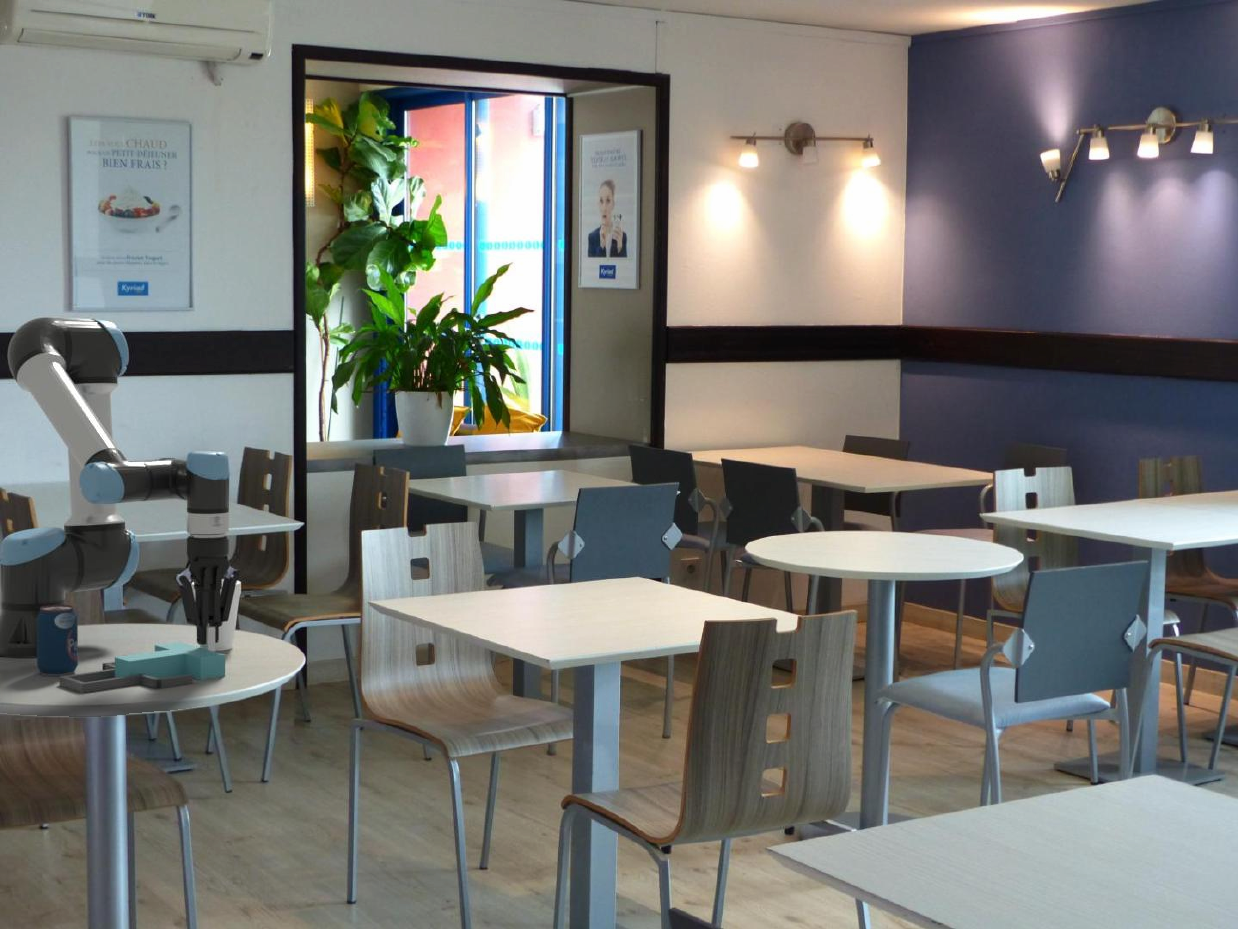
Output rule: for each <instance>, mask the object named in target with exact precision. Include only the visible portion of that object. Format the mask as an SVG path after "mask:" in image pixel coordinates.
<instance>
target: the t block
mask: <svg viewBox="0 0 1238 929" xmlns="http://www.w3.org/2000/svg"><path fill="white" fill-rule="evenodd" d="M114 662H115V678H118V677H125V676H131V675H138V674H145V675H149V676H152V677H155V678H158V679H160V678H167V677H174V676H180V675H187V674H192V675H193V679H197V680H199V681H203V680H209V679H216V678H222V677H223V678H224V677H226V654H224V653H220V652H218V651H215V652H214V651H210V650H206V649H203V648H200V646H194V645H192V644H189V643H184V642H180V641H176V642H168V643H160V644H155V645H154V651H151V652H143V653H142V652H141V653H136V654H134V653H133V654H128V655H121V656H114Z"/></svg>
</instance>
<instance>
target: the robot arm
mask: <svg viewBox="0 0 1238 929" xmlns="http://www.w3.org/2000/svg"><path fill="white" fill-rule="evenodd" d="M129 354H130V353H129V346H128V343H127V339H126V338H125V335H124V334H123V332H122V330H120V329H119V327H118V326H117V325H116V324H115V323H113V322H112V321H110V320H104V319H97V318H89V317H88V318H67V317H66V318H64V317H62V318H61V317H58V318H57V317H48V316H47V317H45V316H44V317H37V318H34V319H31V320H29V321H27V322H25V323H24V324H23V325H21V326H20V327H19V328H18V329H16V331H15V332H14V333H13V335H12V337H11V339H10V341H9V344H8V348H7V363H8V364H7V365H8V367H9V371H10V372H11V375H12V377H13V379H14V380H15V381H16V383H17V384H18V386H19V387H20V389H22V390H23V391H25V392H28V393H30V394H31V396H32V397H33V398H34V400H35V402H36V403H37V404H38V405H39V407H40V409H41V411H42V412H43V413H44V415H45V416H46V418H47V419H48V421H49V422H50V423H51V425H52V426H53V428H54V430H55V431H56V432H57V434H58V435H59V437H60V438H61V440H62V442H63V443H64V445H65V447H66V448H67V455H68V456H67V457H68V474H69V476H68V477H69V495H70V513H71V515H70V517H69V518H68V519H67V520H65V522H64V523H63V528H61V527H54V526H52V527H51V526H50V527H48V526H47V527H46V526H45V527H41V528H38V527H36V528H29V529H24V530H20V531H19V530H18V531H16V532H13V533H11V534H8V535H6V536H5V537H4V538H3V540H2V542H1V543H0V544H1V546H0V608H1V609H0V657H9V658H37V617H38V615H39V613H40V611H41V610H40V608H41V607H44V606H49V605H66V594H68V593H78V592H85V591H93V590H94V591H96V590H109V589H111V588H115V587H116V588H117V587H120V586H123V585H125V584H126V583H128V582H129V581H130V580H131V579H132V576H134V575H135V573H136V570H137V568H138V564H139V559H140V547H139V541H138V540H137V539H136V535H135V534H134V532H133V531H131V530H130V529H127V528H126V520H125V519H124V518H123V517H122V516H121V515H119V514H118V512H117V504H123V503H124V504H125V503H134V502H151V501H163V500H165V501H166V500H178V501H179V500H181V501H186V505H187V506H186V533H187V534H189V535H188V536H187V537H186V556H187V562H186V565H185V569H184V570H183V571H182V572H181V573H180V574H175V575H174V576H173V579H174V581H175V583H176V585H177V586H178V588H179V592H180V598H181V602H182V606H183V610H184V614H185V619H186V620H185V621H186V623H187V624H189V625H192V626H195V627H196V643H197V644H198V645H199V644H200V645H199V648H203V649H206V650H210V651H214V652H216V651H215V643H218V640H219V627H220V626H222V622H224V621H225V622H226V621H228V619H229V614H230V609H231V605H232V600H233V595H234V590H235V585H236V582H237V581H239V578H240V576H241V574H242V571H241V570H240V569H235V568H233V567H232V566H231V564H230V561H229V558H228V557H229V553H230V537H229V535H227V534H228V533H229V528H230V524H229V522H230V517H229V516H230V514H229V512H230V511H229V510H230V508H229V507H230V477H231V472H230V466H229V465H230V464H229V456H228V454H227V453H226V452H224V451H220V450H219V451H214V450H213V451H212V450H197V451H195V450H194V451H190V452H188V454H187V457H186V458H187V459H185V460H184V459H179V458H177V459H176V458H175V457H160V458H155V459H152V460H150V459H149V460H148V459H147V460H127V458H126V457H125V455H124V454H123V453H122V452H121V450H120V449H119V447H118V446H117V444H116V443H115V441H114V440H113V437H114V436H113V422H112V419H113V418H112V402H111V401H112V400H111V394H112V392H113V391H114V390H115V389H116V388H117V387H118V386H119V385H118V384H119V383H118V382H119V381H118V378H119V377H121V376H123V375H124V374H125V372H126V370H127V366H128V364H129V360H130V357H129V356H130V355H129ZM222 579H224V581H223V585H222ZM192 581H193V582H194V589H195V598H194V594H193V589H192V586H191V584H192V583H191V582H192ZM221 588H222V590H221ZM220 590H221V595H220ZM208 624H209V625H208Z"/></svg>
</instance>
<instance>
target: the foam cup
mask: <svg viewBox="0 0 1238 929" xmlns="http://www.w3.org/2000/svg"><path fill="white" fill-rule="evenodd" d="M223 581H224V578H223V579H222V585H223ZM190 584H191V586H192V589H193V594H194V598H195V589H194V581H193V582H192V583H190ZM221 590H222V588H221ZM221 590H220V595H221ZM241 593H242V582H241V581H240V580H237V582H236V585H235V590H234V595H233V600H232V605H231V609H230V614H229V619H228V621H226V622H225V621H224V622H222V626H220V627H219V640H218V643H215V652H218V651H220V652H221V651H226V650H231V649H233V646H234V640H235V632H236V625H237V619H238V617H237V616H238V609H239V602H240V596H241ZM208 625H209V624H208ZM198 645H199V646H200V644H198Z"/></svg>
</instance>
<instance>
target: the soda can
mask: <svg viewBox="0 0 1238 929" xmlns="http://www.w3.org/2000/svg"><path fill="white" fill-rule="evenodd" d="M40 610H41V611H40V613H39V615H38V617H37V657H36V658H37V659H36V663H37V664H36V667H37V670H38V671H39V672H40V674H41V675H43V676H49V677H60V676H67V675H73V674H74V673H75V671H76V669H77V668H78V665H79V647H78V646H79V640H78V638H79V636H78V635H79V634H78V632H79V630H78V629H79V628H78V625H79V624H78V614H77V612H76V611H75V606H73V605H71V604H65V605H49V606H44V607H41V608H40Z"/></svg>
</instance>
